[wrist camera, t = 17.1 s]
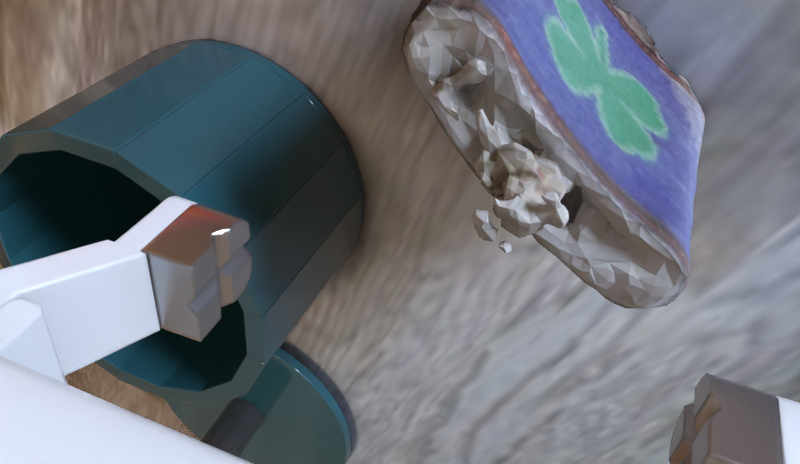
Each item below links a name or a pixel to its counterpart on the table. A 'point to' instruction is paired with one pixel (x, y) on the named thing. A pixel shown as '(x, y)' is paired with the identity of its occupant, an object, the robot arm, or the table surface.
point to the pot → (192, 196)
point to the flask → (568, 134)
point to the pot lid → (274, 419)
